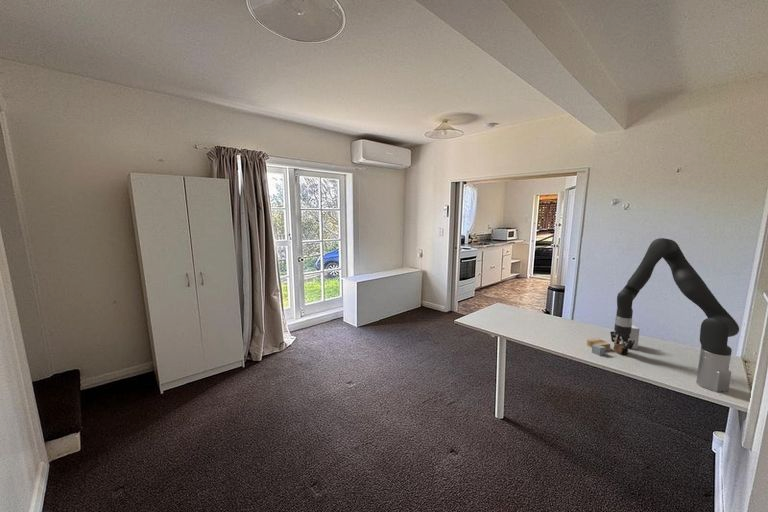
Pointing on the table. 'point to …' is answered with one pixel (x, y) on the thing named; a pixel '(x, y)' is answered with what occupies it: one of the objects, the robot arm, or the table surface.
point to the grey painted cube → (598, 349)
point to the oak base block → (598, 341)
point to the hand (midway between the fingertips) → (620, 352)
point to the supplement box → (634, 336)
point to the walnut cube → (619, 349)
